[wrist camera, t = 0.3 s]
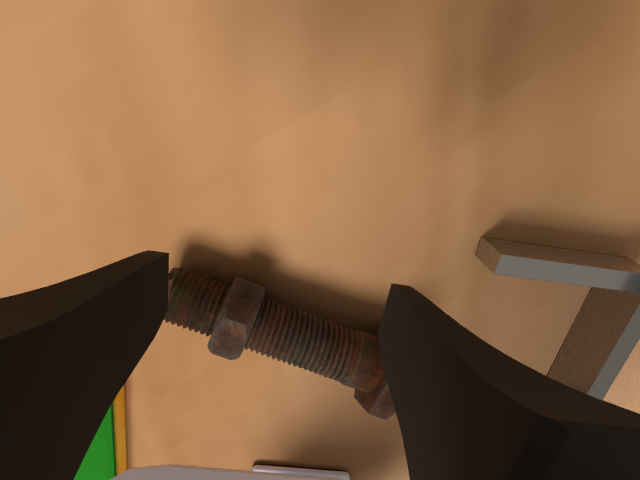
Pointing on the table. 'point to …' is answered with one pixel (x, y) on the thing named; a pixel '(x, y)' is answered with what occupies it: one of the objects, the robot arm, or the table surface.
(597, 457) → the robot arm
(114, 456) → the dish sponge
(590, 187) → the table surface
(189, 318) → the bolt
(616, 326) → the grey u-shaped bracket
